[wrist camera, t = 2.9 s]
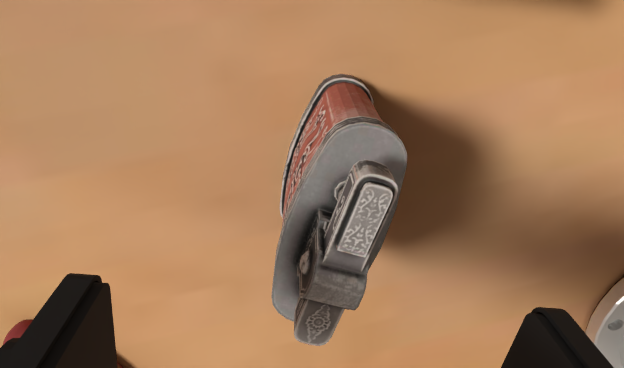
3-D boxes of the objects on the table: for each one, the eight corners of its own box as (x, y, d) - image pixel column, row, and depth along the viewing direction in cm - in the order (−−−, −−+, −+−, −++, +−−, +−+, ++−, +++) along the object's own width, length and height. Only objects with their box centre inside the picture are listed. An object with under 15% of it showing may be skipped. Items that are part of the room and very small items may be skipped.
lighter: (328, 228, 23) (347, 391, 14) (268, 212, 22) (246, 370, 13) (385, 86, 19) (460, 177, 10) (316, 63, 19) (331, 137, 10)
